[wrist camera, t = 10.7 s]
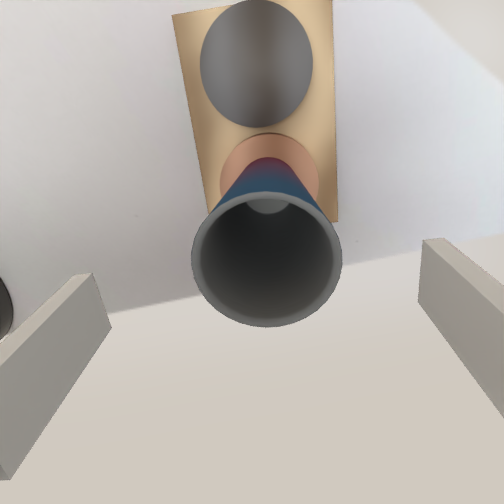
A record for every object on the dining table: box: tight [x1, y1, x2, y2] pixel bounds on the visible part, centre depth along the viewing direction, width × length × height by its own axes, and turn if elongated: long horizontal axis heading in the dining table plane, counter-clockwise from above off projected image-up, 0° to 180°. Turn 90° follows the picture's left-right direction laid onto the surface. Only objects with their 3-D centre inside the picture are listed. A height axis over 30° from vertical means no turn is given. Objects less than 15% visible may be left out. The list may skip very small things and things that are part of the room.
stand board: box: [172, 0, 338, 223], centre depth 29 cm, size 12×18×3 cm, turn 7°
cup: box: [191, 157, 342, 327], centre depth 22 cm, size 7×7×15 cm
